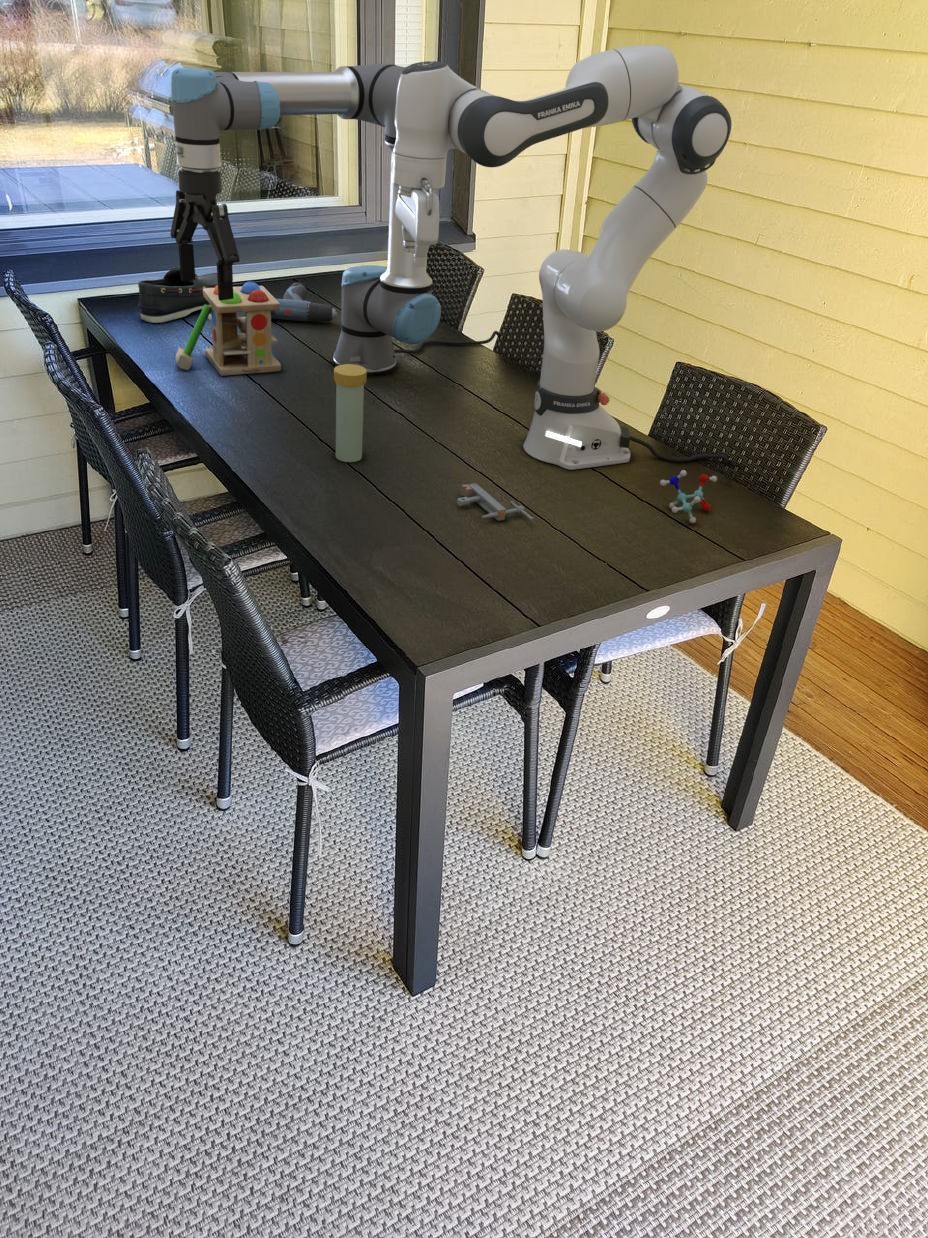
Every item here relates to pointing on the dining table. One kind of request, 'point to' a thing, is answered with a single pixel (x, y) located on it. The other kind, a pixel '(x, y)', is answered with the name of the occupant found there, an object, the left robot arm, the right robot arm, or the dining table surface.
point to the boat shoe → (173, 296)
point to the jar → (349, 423)
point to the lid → (350, 375)
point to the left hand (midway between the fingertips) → (206, 289)
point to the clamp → (488, 503)
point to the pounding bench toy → (229, 347)
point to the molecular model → (683, 497)
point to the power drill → (301, 307)
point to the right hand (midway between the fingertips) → (413, 258)
